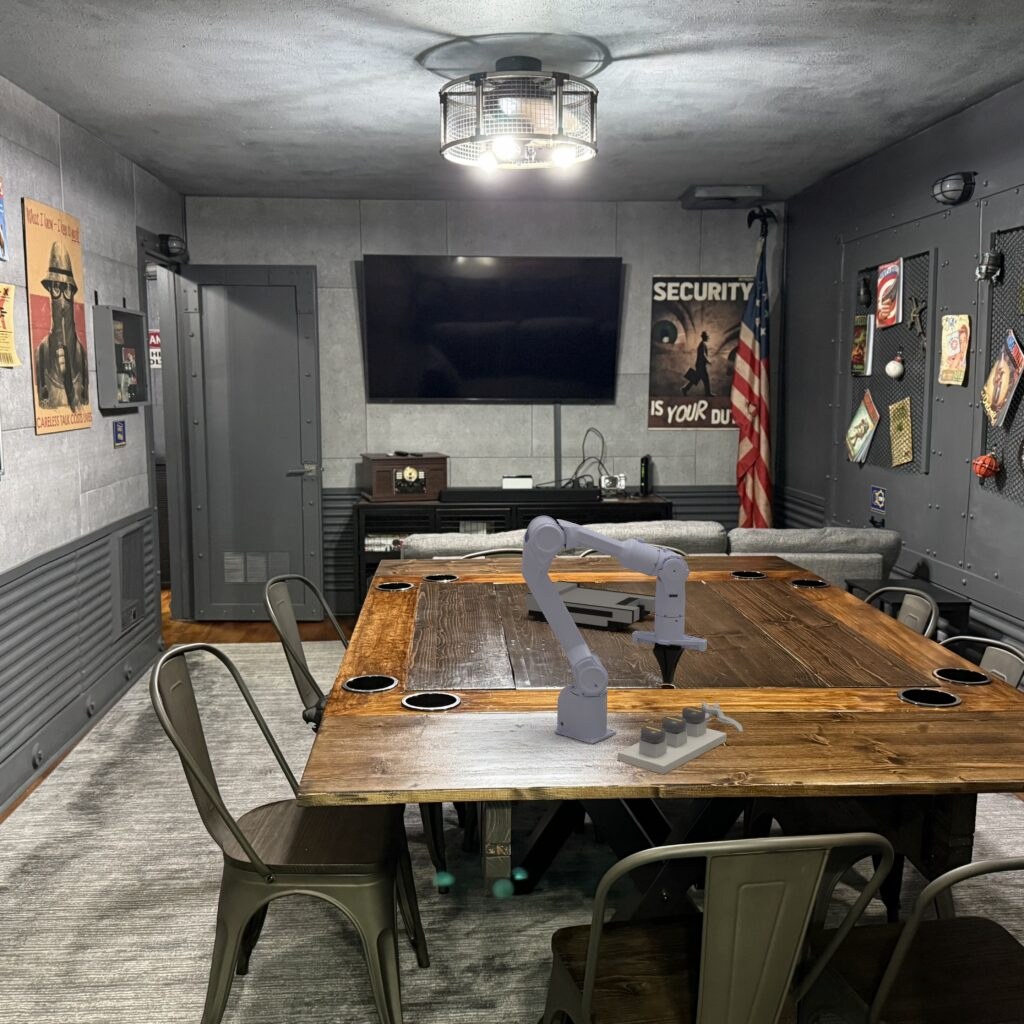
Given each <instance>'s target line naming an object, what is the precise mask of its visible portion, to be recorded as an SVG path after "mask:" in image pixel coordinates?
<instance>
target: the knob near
mask: <svg viewBox="0 0 1024 1024" xmlns="http://www.w3.org/2000/svg"><path fill="white" fill-rule="evenodd" d="M640 729H641V730H640V740H642V741H644V742H647V743H655V744H656V743H662V742H664V741H665V733H666V730H665V728H663V727H662V726H661V725H660V726H659V725H651V724H649V725H644V726H642V727H641V728H640Z"/></svg>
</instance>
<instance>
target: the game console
mask: <svg viewBox="0 0 1024 1024" xmlns="http://www.w3.org/2000/svg"><path fill="white" fill-rule="evenodd" d="M552 583H553V584H554V586H555V588H556V590H557V592H558V593H559V595H560V597H561V599H562V601H563V603H564V604H565V606H566V608H567V610H568V612H569V614H570V615H571V617H572V619H573V621H574V623H575V624H576V626H577V628H578V627H583V628H582V629H585V628H590V629H589V630H592V629H595V631H599V630H602V632H607V631H609V632H608V633H614V632H616V633H617V631H618V632H620V631H621V630H623V629H626V628H627V627H629V626H631V625H633V623H635V622H637V621H639V620H640V618H641V619H643V618H645V617H647V616H649V615H651V612H655V595H652V594H643V593H642V594H641V593H637V592H636V593H635V592H627V591H626V592H625V591H619V590H618V591H617V590H611V589H609V590H608V589H603V588H602V589H601V588H594V587H593V588H591V587H585V586H580V584H581V583H580V582H575V581H567V580H560V579H559V580H557V581H553V582H552ZM525 610H527V611H528V612H527V613H528V616H529V617H533V618H534V621H540V622H539V623H541V622H547V623H546V624H548V621H547V619H546V618H545V616H544V614H543V612H542V610H541V609H540V607H539V605H538V603H537V601H536V600H535V598H534V596H533V594H532V592H531V591H529V592H527V593H526V594H525ZM622 628H623V629H622Z"/></svg>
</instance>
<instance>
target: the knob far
mask: <svg viewBox="0 0 1024 1024" xmlns="http://www.w3.org/2000/svg"><path fill="white" fill-rule="evenodd" d="M681 714H682V715H681V717H683V718H685V719H686V722H688V723H695V724H696V723H703V722H705V714H706V711H705V710H704V709H703V708H702V707H699V706H685V707H684V708H682V710H681Z"/></svg>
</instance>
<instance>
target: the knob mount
mask: <svg viewBox="0 0 1024 1024" xmlns="http://www.w3.org/2000/svg"><path fill="white" fill-rule="evenodd" d="M707 720H708V719H706V720H705V722H703V723H696V724H695V723H688V722H686V731H684V732H682V733H669V732H666V733H665V741H664V742H662V743H656V744H655V743H647V742H644V741H642V740H641V739H639V742H637V743H635V744H633V745H631V746H629V747H626V748H624V749H621V750H620V751H618V752H617V762H618V761H619V762H622V763H625V764H629V765H630V766H636V767H638V768H641V769H644V770H648V771H651V772H654V773H658V774H661V775H665V774H667V773H669V772H671V771H673V770H676V769H678V767H680V766H681V767H682V766H683V765H685V764H686V763H688V762H690V761H691V760H694V759H695V758H698V757H699V756H702V755H703V754H705V753H707V752H708V751H710V750H712V749H714V748H716V747H718V746H720V745H721V744H724V743H726V742H727V737H728V734H727V733H726V732H724V731H718V730H716V729H715V730H714V729H711V728H709V727H707V725H708V724H707V723H708V722H707Z"/></svg>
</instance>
